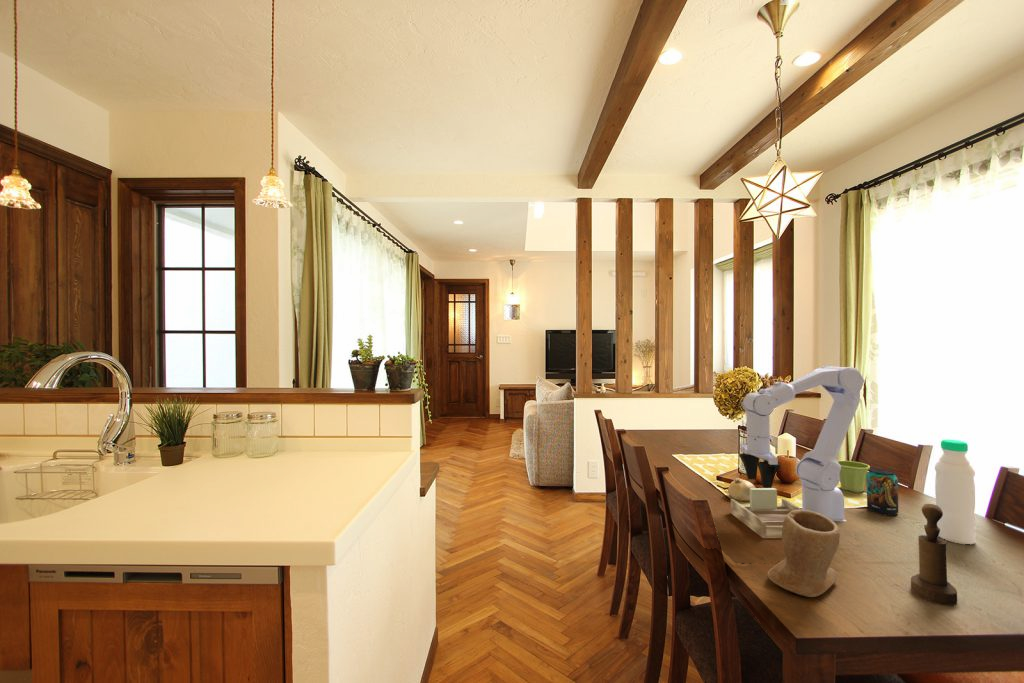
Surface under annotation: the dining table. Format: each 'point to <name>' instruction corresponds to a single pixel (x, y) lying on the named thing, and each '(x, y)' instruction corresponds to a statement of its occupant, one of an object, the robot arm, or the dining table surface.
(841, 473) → the plant pot
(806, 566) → the stone cup
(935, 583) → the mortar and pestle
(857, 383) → the robot arm
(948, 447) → the white bottle
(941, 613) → the dining table surface
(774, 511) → the rack
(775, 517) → the offcut upper
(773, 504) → the panel
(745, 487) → the onion
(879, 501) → the printed food package
